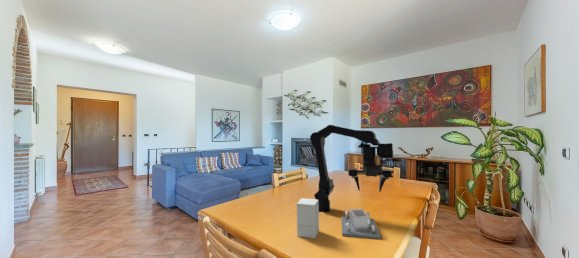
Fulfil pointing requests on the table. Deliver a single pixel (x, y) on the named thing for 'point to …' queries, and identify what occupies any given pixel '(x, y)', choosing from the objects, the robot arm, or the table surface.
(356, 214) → the block
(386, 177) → the robot arm
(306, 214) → the supplement box
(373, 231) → the pin tray
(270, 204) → the table surface
